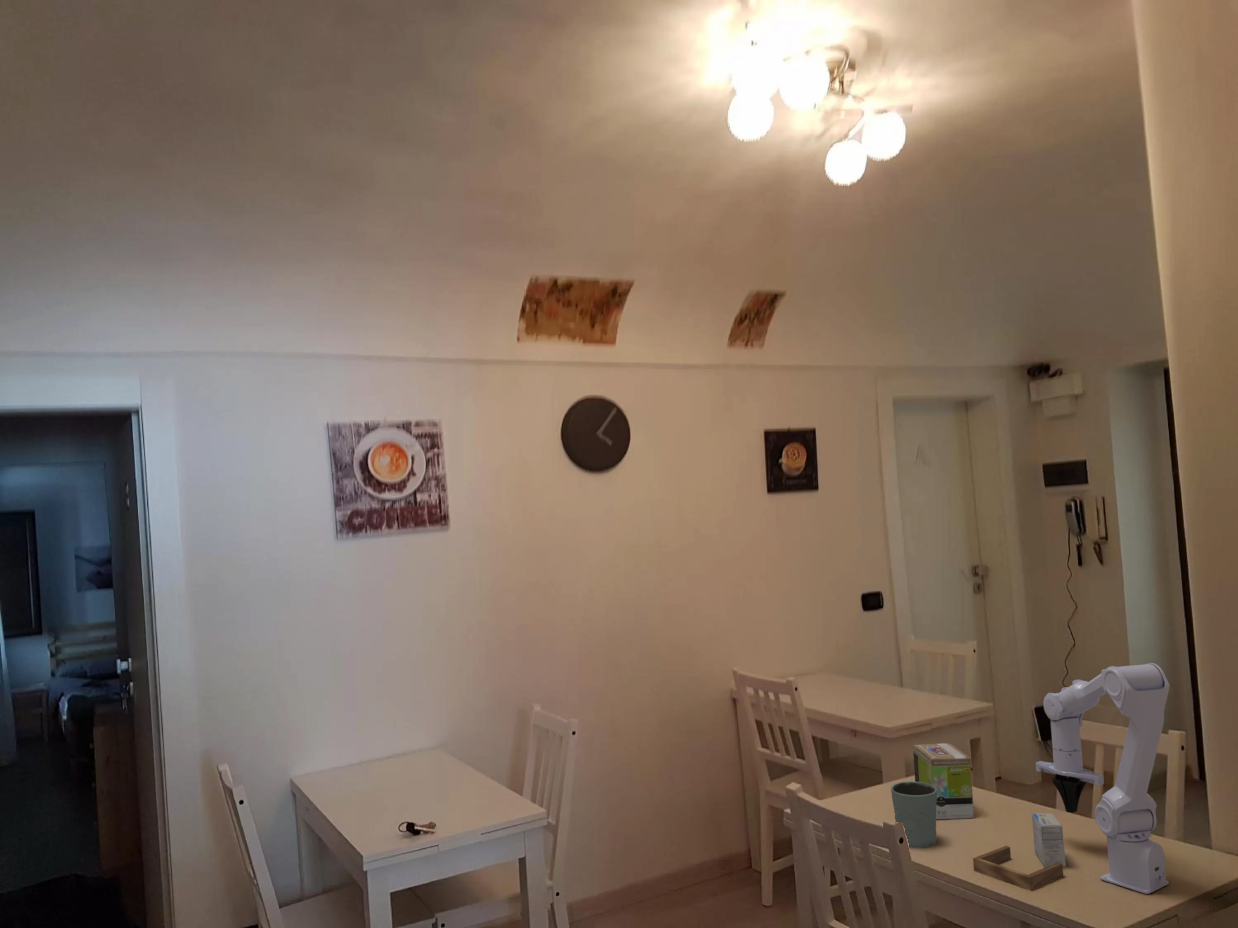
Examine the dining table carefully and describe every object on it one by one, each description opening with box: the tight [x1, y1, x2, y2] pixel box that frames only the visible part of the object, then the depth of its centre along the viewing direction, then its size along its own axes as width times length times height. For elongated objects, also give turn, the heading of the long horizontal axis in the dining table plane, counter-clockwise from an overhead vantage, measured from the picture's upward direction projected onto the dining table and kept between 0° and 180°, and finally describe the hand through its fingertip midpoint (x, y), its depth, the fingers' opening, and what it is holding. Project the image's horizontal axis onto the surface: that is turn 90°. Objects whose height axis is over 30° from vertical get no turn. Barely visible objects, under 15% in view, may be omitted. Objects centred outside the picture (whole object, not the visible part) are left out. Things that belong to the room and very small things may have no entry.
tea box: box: [912, 742, 975, 820], centre depth 231 cm, size 15×10×15 cm, turn 179°
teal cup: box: [890, 780, 937, 849], centre depth 211 cm, size 10×10×12 cm
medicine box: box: [1031, 812, 1067, 868], centre depth 196 cm, size 8×4×9 cm, turn 168°
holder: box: [972, 845, 1064, 891], centre depth 190 cm, size 13×11×2 cm
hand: (1071, 811), depth 201 cm, fingers closed
